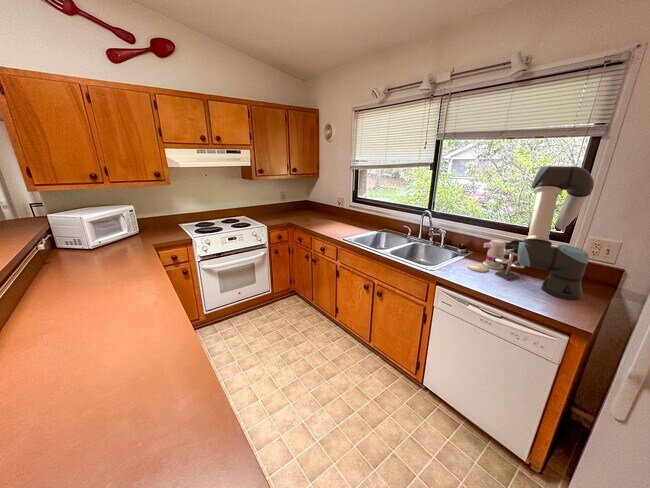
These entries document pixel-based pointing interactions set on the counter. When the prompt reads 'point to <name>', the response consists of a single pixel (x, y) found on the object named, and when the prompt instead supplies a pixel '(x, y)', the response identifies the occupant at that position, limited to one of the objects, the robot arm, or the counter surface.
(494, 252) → the supplement can
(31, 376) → the counter surface
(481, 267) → the cream dish
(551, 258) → the robot arm
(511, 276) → the balance
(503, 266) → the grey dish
